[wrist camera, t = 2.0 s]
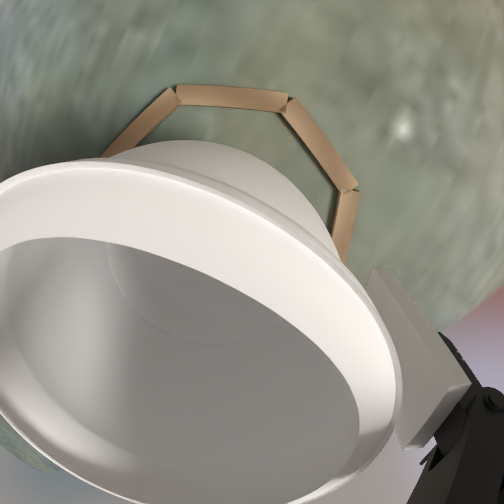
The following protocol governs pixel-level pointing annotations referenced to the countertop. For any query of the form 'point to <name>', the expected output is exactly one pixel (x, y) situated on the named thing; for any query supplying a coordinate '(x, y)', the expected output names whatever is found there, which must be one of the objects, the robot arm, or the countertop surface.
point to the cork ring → (260, 102)
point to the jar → (187, 330)
